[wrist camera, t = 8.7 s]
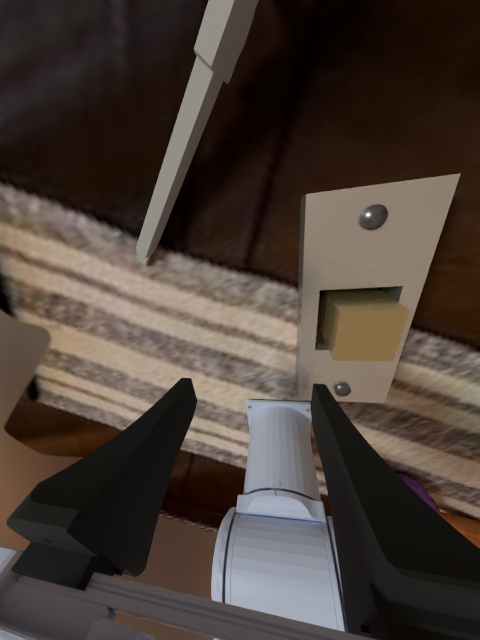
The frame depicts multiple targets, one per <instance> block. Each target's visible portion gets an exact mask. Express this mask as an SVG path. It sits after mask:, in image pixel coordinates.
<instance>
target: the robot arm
mask: <svg viewBox="0 0 480 640" xmlns="http://www.w3.org/2000/svg"><path fill="white" fill-rule="evenodd" d="M196 404H197V399H196V395H195V391H194V388H193V384H192V380H191V378H181V379H180V380H179V381H178V382H177V383H176V384H175V385H174V386H173V387H172V388H171V389H170V390H169V391H168V392H167V393H166V394H165V395H164V396H163V397H162V398H161V399H160V400H159V401H158V402H156V403H155V404H154V405H153V406H152V407H151V408H150V409H149V410H148V411H147V412H145V413H144V414H143V415H142V416H141V417H140V418H139V419H137V420H136V421H135V422H134V423H133V424H131V425H130V426H129V427H127V428H126V429H125V430H124V431H122V432H121V433H120V434H118V435H117V436H116V437H114V438H113V439H111V440H110V441H108V442H107V443H105V444H104V445H103V446H101V447H100V448H98V449H97V450H95V451H94V452H92V453H90V454H89V455H87V456H86V457H84V458H83V459H81V460H79V461H78V462H76V463H75V464H73V465H71V466H69V467H68V468H66V469H64V470H62V471H60V472H58V473H57V474H55V475H53V476H51V477H50V478H48V479H46V480H44V481H42V482H40V483H38V485H37V486H36V487H35V488H34V489H33V490H32V491H31V493H30V494H29V495H28V496H27V497H26V498H25V500H24V501H23V502H22V503H21V504H20V505H19V506H18V508H17V509H16V510H15V511H14V512H13V513H12V515H11V516H10V517H9V518H8V519H7V526H8V527H9V528H11V529H12V530H13V531H15V532H16V533H18V534H19V535H21V536H23V537H24V538H26V539H27V540H29V541H30V542H31V543H30V545H29V546H28V547H27V549H26V550H25V551H23V550H20V549H17V548H13V547H9V546H4V545H0V640H155V638H154V637H152V636H149V635H147V634H144V633H142V632H140V631H138V630H137V629H136V628H133V627H130V626H127V625H124V624H121V623H118V622H115V620H116V615H115V612H114V611H116V612H120V613H124V614H128V615H131V616H135V617H138V618H142V619H146V620H149V621H153V622H157V623H160V624H164V625H168V626H172V627H175V628H179V629H183V630H186V631H190V632H193V633H197V634H201V635H205V636H208V637H212V638H214V640H480V549H479V548H478V547H477V546H475V545H474V544H473V543H472V542H471V541H470V540H468V539H467V538H466V537H465V536H464V535H462V534H461V533H460V532H459V531H458V530H457V529H455V528H454V527H453V526H452V525H451V524H450V523H449V522H447V521H446V520H445V519H444V518H443V517H442V516H441V515H440V514H438V513H437V512H436V511H435V510H434V509H433V508H432V507H431V506H430V505H429V504H427V503H426V502H425V501H424V500H423V499H422V498H421V497H420V496H419V495H418V494H417V493H416V492H415V491H414V490H413V489H412V488H411V487H410V486H409V485H408V484H407V483H406V482H405V481H403V480H402V479H401V478H400V477H399V476H398V475H397V474H396V473H395V472H394V471H393V470H392V468H391V467H390V466H389V465H388V464H387V463H386V462H385V461H384V460H383V459H382V458H381V457H380V456H379V455H378V453H377V452H376V451H375V450H374V449H373V448H372V447H371V446H370V444H369V443H368V442H367V441H366V440H365V439H364V437H363V436H362V435H361V434H360V432H359V431H358V430H357V429H356V427H355V426H354V425H353V424H352V422H351V421H350V420H349V418H348V417H347V416H346V414H345V413H344V411H343V410H342V409H341V407H340V406H339V404H338V403H337V401H336V400H335V398H334V397H333V395H332V394H331V392H330V391H329V389H328V387H327V386H326V385H325V384H313V389H312V398H311V403H310V402H293V401H270V400H247V401H246V409H247V416H248V423H249V431H250V438H249V448H248V457H247V467H246V476H245V486H244V495H238V500H237V508H235V507H233V508H231V509H230V510H229V511H228V513H227V515H226V516H225V517H224V519H223V521H222V523H221V526H220V529H219V532H218V536H217V540H216V545H215V551H214V558H213V568H212V583H211V590H212V591H211V592H212V593H211V594H212V600H209V599H204V598H200V597H197V596H192V595H188V594H183V593H180V592H176V591H171V590H167V589H163V588H159V587H155V586H150V585H146V584H142V583H138V582H133V581H130V580H125V579H121V578H117V577H113V575H114V574H116V575H120V576H121V575H122V574H125V575H130V576H134V577H137V576H139V575H140V574H141V573H142V572H143V571H144V569H145V568H146V564H147V559H148V555H149V551H150V547H151V543H152V539H153V535H154V531H155V527H156V523H157V520H158V516H159V513H160V509H161V505H162V502H163V498H164V495H165V492H166V488H167V485H168V482H169V478H170V475H171V472H172V469H173V466H174V463H175V460H176V458H177V455H178V453H179V450H180V448H181V445H182V443H183V441H184V438H185V436H186V433H187V431H188V428H189V426H190V424H191V421H192V418H193V415H194V412H195V408H196ZM312 424H313V430H314V434H315V438H316V442H317V446H318V450H319V454H320V458H321V462H322V466H323V471H324V475H325V480H326V484H327V490H328V497H329V503H330V509H331V515H332V517H330V516H327V523H326V517H325V511H324V505H323V502H322V501H321V500H320V494H319V488H318V482H317V476H316V470H315V463H314V457H313V451H312V445H311V439H310V436H311V425H312ZM327 526H328V528H327Z"/></svg>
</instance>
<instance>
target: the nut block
mask: <svg viewBox="0 0 480 640" xmlns="http://www.w3.org/2000/svg"><path fill="white" fill-rule="evenodd" d="M409 311H410V310H409V309H407V308H406V307H405V306H403V305H402V304H400V303H399V302H398V301H396V300H395V299H393V298H392V297H390V296H389V295H388V294H386V293H385V292H383V291H382V290H380V289H379V288H378V287H374V288H355V289H335V290H323V291H322V301H321V312H320V323H319V328H320V331H321V333H322V336H323V338H324V341H325V343H326V345H327V348H328V350H329V353H330V355H331V358H332V360H333V361H388V362H393V361H394V358H395V355H396V352H397V349H398V345H399V342H400V339H401V336H402V333H403V330H404V327H405V324H406V321H407V318H408V314H409Z"/></svg>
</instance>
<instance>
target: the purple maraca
mask: <svg viewBox="0 0 480 640" xmlns="http://www.w3.org/2000/svg"><path fill="white" fill-rule="evenodd" d="M396 474H397V475H398V476H399V477H400V478H401V479H402V480H403V481H405V482H406V483H407V484H408V485H409V486H410V487H411V488H412V489H413V490H414V491H415V492H416V493H417V494H418V495H419V496H420V497H421V498H422V499H423V500H424V501H425V502H426V503H427V504H429V505H430V506H431V507H432V508H433V509H434V510H435V511H436V512H437V513H438V514H440V515H441V516H442V517H443V518H444V519H445V520H446V521H447V522H449V523H450V524H451V525H452V526H453V527H454V528H455V529H457V530H458V531H459V532H460V533H461V534H462V535H464V536H465V537H466V538H467V539H468V540H470V541H471V542H472V543H473V544H474V545H475V546H477V547H478V548H480V522H479V521H477V520H473V519H468V518H464V517H460V516H456V515H452V514H447V513H443V512H440V510H439V508H438V506H437V504H436V503H435V501H434V500H433V499H432V498H431V497H430V495H429V494H428V492H427V491H426V490H425V489H424V488H423V487H422V486H421V485H420V484H419V483H418V482H417V481H415V480H414V479H412V478H410V477H408V476H406V475H404V474H401V473H396Z"/></svg>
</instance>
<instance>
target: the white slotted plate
mask: <svg viewBox="0 0 480 640" xmlns="http://www.w3.org/2000/svg"><path fill="white" fill-rule="evenodd" d="M460 174H461V173H460ZM460 174H453V175H446V176H438V177H431V178H423V179H416V180H408V181H401V182H394V183H386V184H379V185H371V186H364V187H356V188H349V189H342V190H334V191H327V192H319V193H312V194H306V195H304V196H302V197H301V216H300V250H299V285H298V319H297V354H296V388H297V395H298V400H311V398H312V389H313V384H325V385H326V386H327V387H328V389H329V391H330V392H331V394H332V395H333V397H334V398H335V400H336V401H343V402H366V403H385V401H386V398H387V395H388V392H389V389H390V386H391V383H392V380H393V377H394V374H395V371H396V368H397V365H398V362H399V359H400V356H401V353H402V350H403V346H404V343H405V340H406V337H407V334H408V331H409V328H410V325H411V322H412V319H413V316H414V313H415V310H416V307H417V304H418V301H419V298H420V295H421V292H422V289H423V286H424V283H425V280H426V277H427V274H428V271H429V268H430V265H431V262H432V259H433V256H434V253H435V250H436V246H437V243H438V240H439V237H440V234H441V231H442V228H443V225H444V222H445V219H446V216H447V213H448V210H449V207H450V204H451V201H452V198H453V195H454V192H455V189H456V186H457V183H458V180H459V177H460ZM374 287H383V288H382V291H383V292H385V293H386V294H388V295H389V296H390V297H392V298H393V299H395V300H396V301H398V302H399V303H400V304H402V305H403V306H405V307H406V308H407V309H409V310H410V311H409V314H408V318H407V321H406V324H405V327H404V330H403V333H402V336H401V339H400V342H399V345H398V349H397V352H396V355H395V358H394V361H393V362H388V361H333V360H332V358H331V355H330V353H329V350H328V348H327V345H326V343H325V341H324V338H323V336H322V335H316V330H317V318H318V306H319V293H320V290H335V289H355V288H374Z"/></svg>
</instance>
